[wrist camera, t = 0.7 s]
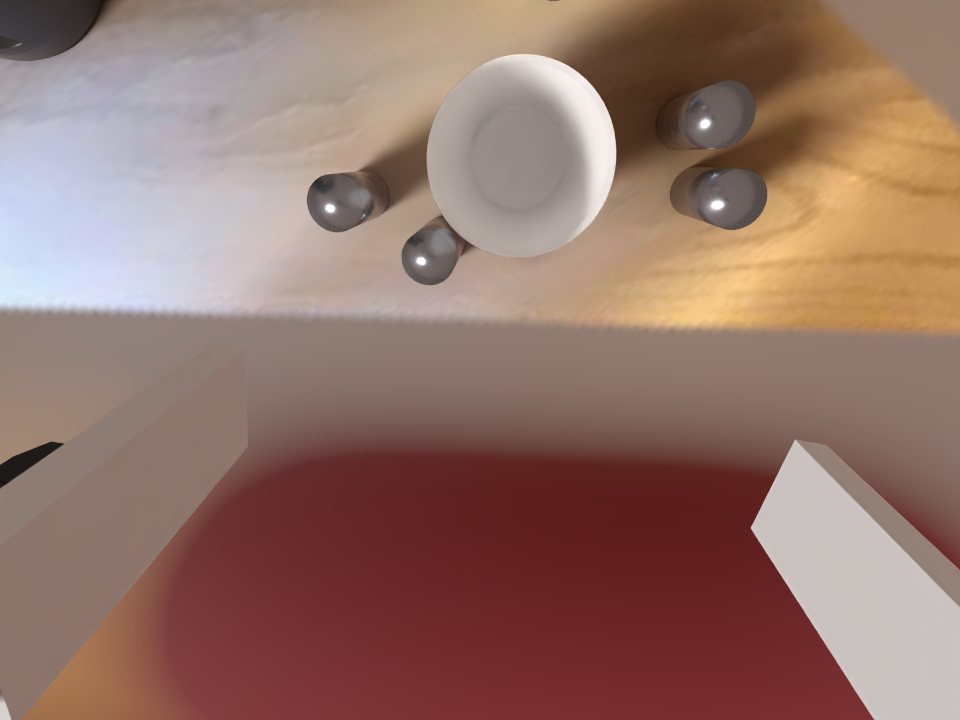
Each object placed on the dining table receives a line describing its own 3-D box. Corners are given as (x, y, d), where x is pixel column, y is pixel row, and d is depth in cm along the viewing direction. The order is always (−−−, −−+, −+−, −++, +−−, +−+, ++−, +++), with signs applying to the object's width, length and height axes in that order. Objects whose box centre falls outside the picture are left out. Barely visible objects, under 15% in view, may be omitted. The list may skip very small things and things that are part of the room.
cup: (528, 52, 32) (537, -4, 21) (611, 168, 34) (659, 174, 23) (424, 152, 34) (382, 151, 23) (508, 254, 37) (506, 297, 25)
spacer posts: (335, 195, 36) (296, 204, 29) (557, -79, 29) (570, -146, 23) (523, 372, 40) (525, 414, 33) (753, 168, 33) (811, 172, 27)
